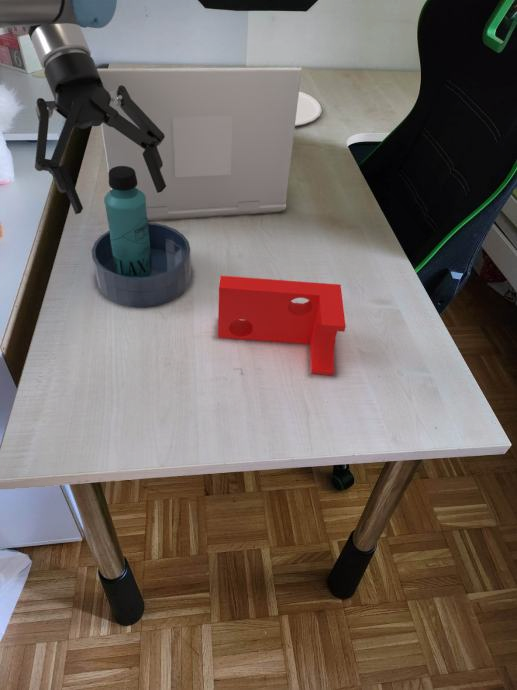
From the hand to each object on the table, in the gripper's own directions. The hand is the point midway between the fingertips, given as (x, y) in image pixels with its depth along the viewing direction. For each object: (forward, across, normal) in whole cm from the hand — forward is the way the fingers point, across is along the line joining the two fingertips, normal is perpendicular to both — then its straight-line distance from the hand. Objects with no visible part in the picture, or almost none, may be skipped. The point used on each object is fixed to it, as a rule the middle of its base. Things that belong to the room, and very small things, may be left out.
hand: (122, 200), depth 80 cm
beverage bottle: (+11, 0, -10) cm, 15 cm away
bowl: (+11, -2, -10) cm, 16 cm away
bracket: (+30, -12, +8) cm, 33 cm away
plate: (-26, -67, -48) cm, 86 cm away
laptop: (-5, -25, -27) cm, 37 cm away
